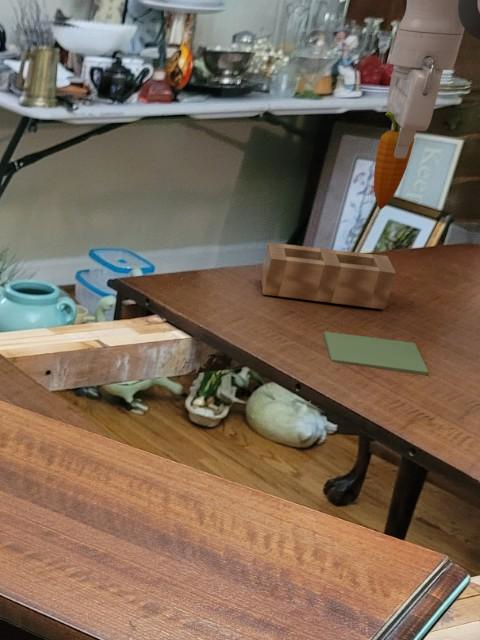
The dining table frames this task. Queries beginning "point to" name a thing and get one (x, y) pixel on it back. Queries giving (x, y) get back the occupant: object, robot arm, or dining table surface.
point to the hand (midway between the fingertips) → (396, 153)
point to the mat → (375, 353)
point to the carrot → (389, 165)
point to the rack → (327, 275)
